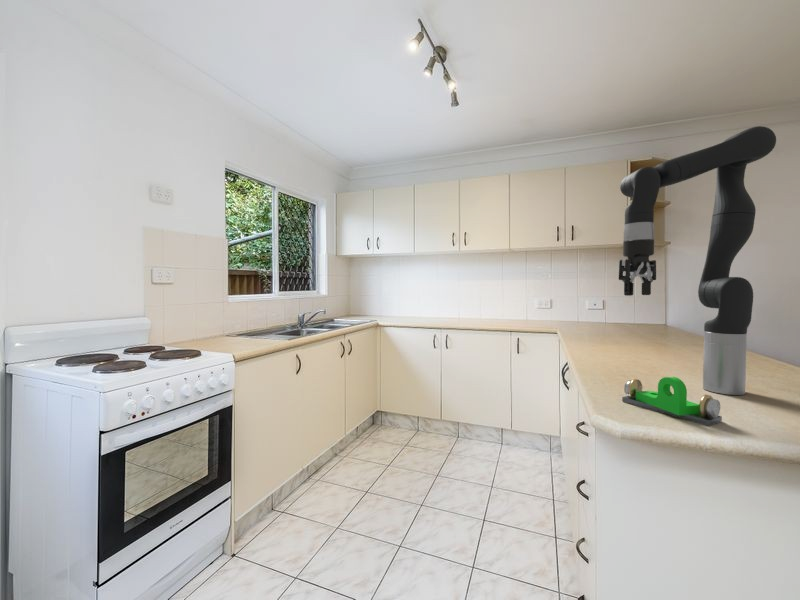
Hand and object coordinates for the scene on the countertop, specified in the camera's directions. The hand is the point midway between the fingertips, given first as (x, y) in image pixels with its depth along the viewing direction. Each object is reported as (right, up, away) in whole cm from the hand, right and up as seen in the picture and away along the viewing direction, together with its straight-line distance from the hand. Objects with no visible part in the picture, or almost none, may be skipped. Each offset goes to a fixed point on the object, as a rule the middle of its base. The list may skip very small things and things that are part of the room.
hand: (637, 295), depth 104 cm
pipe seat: (-4, -29, -16) cm, 33 cm away
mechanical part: (-4, -28, -17) cm, 32 cm away
